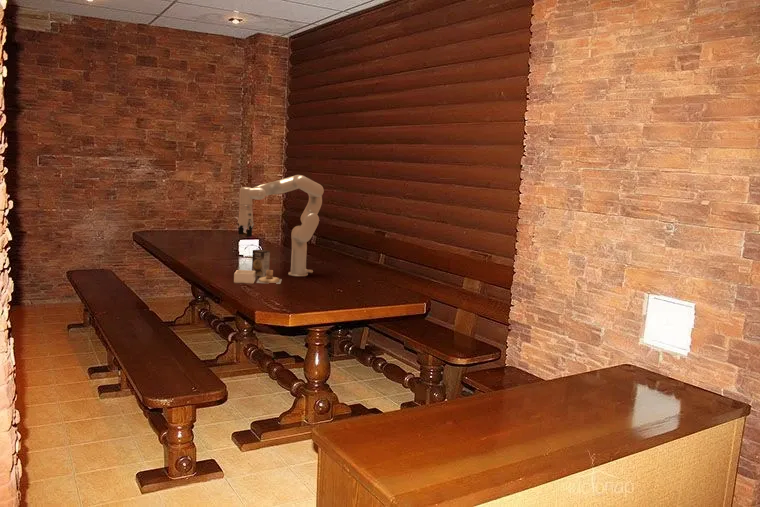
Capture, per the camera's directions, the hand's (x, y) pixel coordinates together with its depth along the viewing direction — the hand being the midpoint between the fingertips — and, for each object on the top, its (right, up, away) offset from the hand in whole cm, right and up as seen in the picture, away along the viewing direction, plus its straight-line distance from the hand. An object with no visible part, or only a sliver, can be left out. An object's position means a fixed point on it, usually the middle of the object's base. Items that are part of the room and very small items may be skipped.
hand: (245, 235), depth 385 cm
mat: (+17, -28, -10) cm, 34 cm away
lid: (+17, -28, -10) cm, 34 cm away
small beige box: (+3, -28, -15) cm, 32 cm away
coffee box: (+8, -25, +7) cm, 27 cm away
